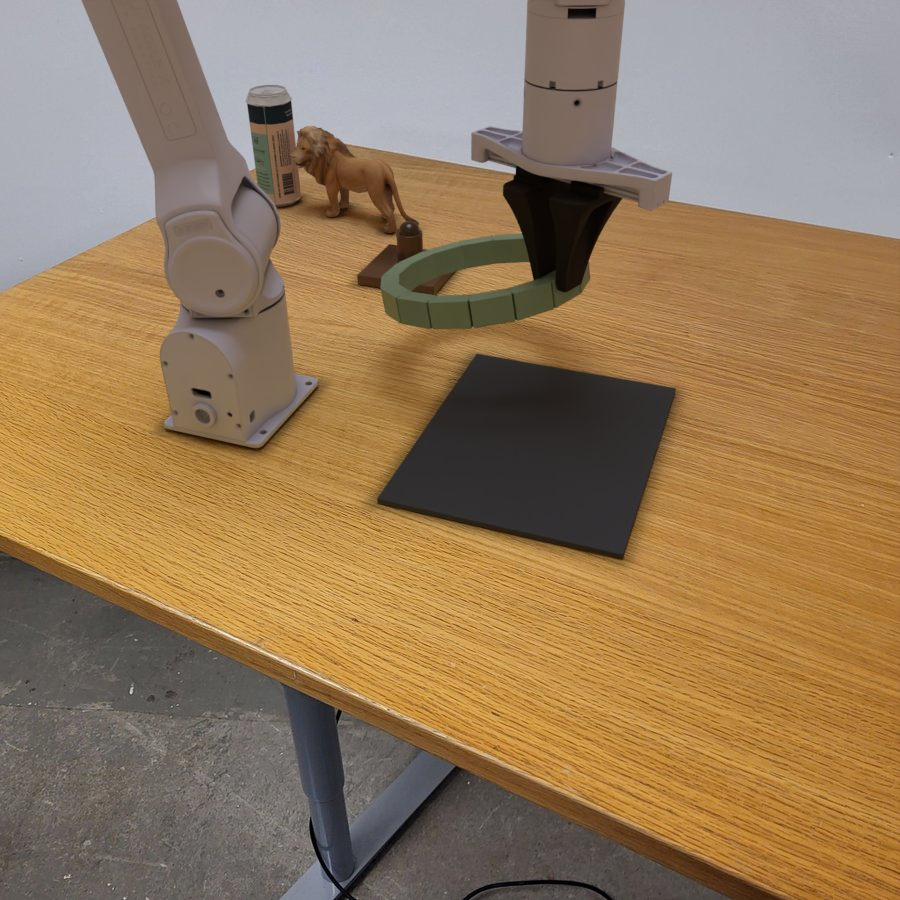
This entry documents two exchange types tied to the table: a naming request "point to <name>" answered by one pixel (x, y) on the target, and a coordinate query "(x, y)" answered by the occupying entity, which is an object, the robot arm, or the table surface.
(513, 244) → the ring
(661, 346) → the table surface
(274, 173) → the beer can
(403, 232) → the peg stand
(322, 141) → the lion figurine
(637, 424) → the mat
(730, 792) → the table surface
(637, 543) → the table surface
